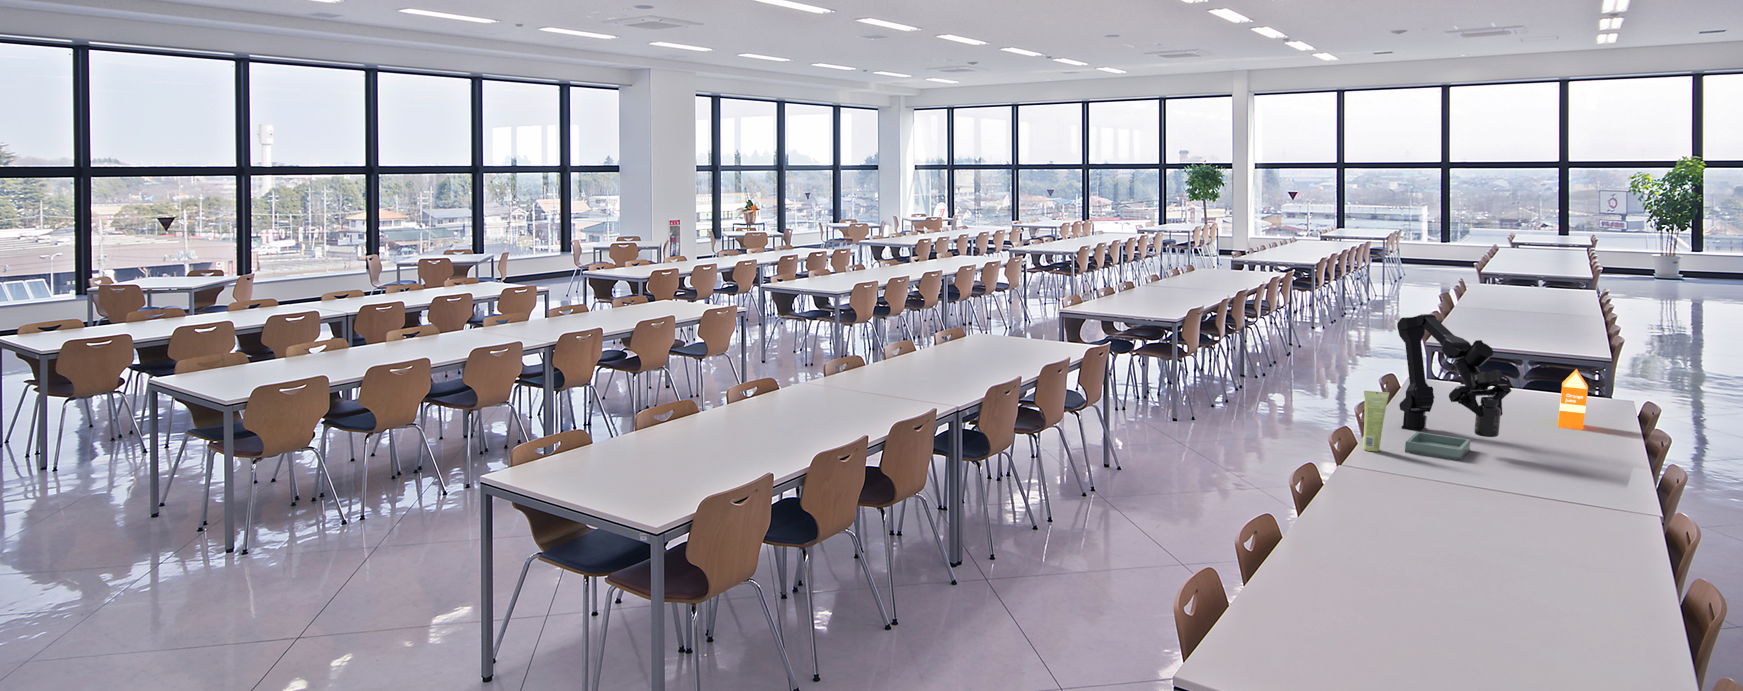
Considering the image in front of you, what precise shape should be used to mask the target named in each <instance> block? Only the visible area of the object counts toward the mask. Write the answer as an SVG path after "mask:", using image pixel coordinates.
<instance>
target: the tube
mask: <svg viewBox="0 0 1743 691" xmlns="http://www.w3.org/2000/svg"><path fill="white" fill-rule="evenodd" d="M1389 397H1390V391H1388V392H1386V391H1374V390H1364V391H1363V398H1364V420H1363V421H1364V422H1363V423H1364V425H1363V441H1362V450H1365V451H1368V452H1379V451H1380V447H1381V440H1382V434H1383V427H1384V422H1385V421H1384V420H1385V415H1386V409H1387V405H1388V402H1389V400H1388V399H1389Z"/></svg>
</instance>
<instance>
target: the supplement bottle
mask: <svg viewBox="0 0 1743 691" xmlns="http://www.w3.org/2000/svg"><path fill="white" fill-rule="evenodd" d="M1478 405H1479V407H1480V409H1481V412H1482V414H1483V416H1481V417H1479V416H1478V415H1476V414H1475V419H1474V420H1475V421H1474V431H1473V432H1474V434H1475V435H1477V436H1479V437H1484V438H1496V437H1498V436H1499V434H1500V426H1501V416H1502V415H1501V410H1500V408H1499V407H1497V405H1498V399H1497V398H1494V397H1488V396H1480V404H1478ZM1500 415H1501V416H1500Z"/></svg>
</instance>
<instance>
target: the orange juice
mask: <svg viewBox="0 0 1743 691" xmlns="http://www.w3.org/2000/svg"><path fill="white" fill-rule="evenodd" d="M1588 390H1589V385H1588V384H1587V382H1586V381H1585V380H1584V378H1583V377H1582V375H1581V374H1580V372H1579V370H1578V368H1576V369H1575V370H1574V371H1573V372H1572V373H1570V374H1569V376H1568V377H1566V379H1565V380H1563V381H1562V383H1561V393H1560V394H1561V396H1560V397H1559V398H1560V401H1559V402H1560V403H1559V411H1558V420H1557V428H1564V429H1571V430H1572V429H1573V430H1574V429H1575V430H1580V431H1581V430H1582V431H1583V430H1584V424H1585V416H1586V415H1585V414H1586V409H1587V401H1588Z"/></svg>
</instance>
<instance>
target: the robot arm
mask: <svg viewBox="0 0 1743 691" xmlns="http://www.w3.org/2000/svg"><path fill="white" fill-rule="evenodd" d="M1396 324H1397V325H1396V328H1397V330H1398V336H1399V337H1400V339H1401V340H1402V341H1403V342H1404V344H1405V345H1404V346H1405V352H1406V353H1405V354H1406V360H1407V361H1406V363H1407V370H1408V378H1409V379H1408V381H1409V384H1408V386H1407V389H1406V391H1405V398H1404V399H1403V400H1402V401H1400V403H1399V409H1400V410H1399V411H1403V422H1402V426H1401V429H1405V430H1413V431H1418V432H1422V431H1423V430H1424V429H1425V428H1426V427H1427V418H1428V416H1427V415H1426V413H1430V412H1431V411H1432V407H1433V404H1434V402H1435V395H1434V388H1433V386H1429V384H1428V383H1427V382H1426V375H1425V373H1426V372H1425V366H1424V356H1423V349H1422V340H1423V339H1424V336H1425V333H1426V332H1428V333H1429V335H1431V336H1432V337H1433V338H1434V339H1435V341H1437V342H1438V343H1439V344H1440V345H1441V351H1442V353H1443V354H1444V355H1445V356H1446V358H1447V359H1451V360H1453V359H1456V360H1457V359H1458V360H1457V361H1452V365H1451V369H1450V370H1451V371H1457V374H1458V375H1459V377H1460V379H1461V380H1460V382H1459V383H1460V385H1457V386H1456V387H1455V388H1454V389H1453V390H1451V392H1449V393H1448V398H1449V401H1450V402H1451V403H1458V404H1459V405H1462V406H1463V407H1465V408H1466V409H1468V410H1470V411H1471V412H1473V414H1475V416H1476V415H1478V416H1479V417H1481V416H1483V414H1482V412H1481V409H1480V407H1479V405H1480V404H1479V403H1478V400H1477V397H1494V398H1497V399H1498V405H1497V407H1499V408H1500V410H1501V415H1500V417H1501V416H1503V399H1505V397H1506V396H1508V395H1509V394H1510V393H1511V392H1512V389H1511V386H1510V385H1509V384H1506V383H1505V384H1502V383H1501V384H1495V385H1494V386H1493V383H1495V382H1497V383H1498V382H1500V380H1502V379H1503V374H1502V372H1501V370H1500V369H1493V370H1491V371H1480V369H1479V368H1478V367H1482V366H1483V365H1484V364H1485V363H1486V362H1488V360H1489V359H1490V358H1492V356H1493V354H1494V350H1493V348H1492V347H1490V345H1488V344H1486V343H1485V342H1483V340H1481V339H1477V340H1474V342H1473V343H1472V344H1471V343H1470V342H1469V341H1468V340H1466V339H1464V338H1463V337H1460V336H1456V335H1455V334H1453V333H1452V332H1451V331H1450V330H1449V329H1448V328H1447V327H1446V326H1445V325H1444V324H1443V323H1441V322H1440V320H1439V319H1437V317H1436V315H1435V314H1431V313H1430V314H1429V313H1423V314H1422V313H1421V314H1419V315H1416V316H1411V317H1409V316H1407V317H1401V318H1400V319H1399V321H1398V322H1397V323H1396ZM1491 386H1493V387H1492V388H1490V387H1491Z"/></svg>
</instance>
